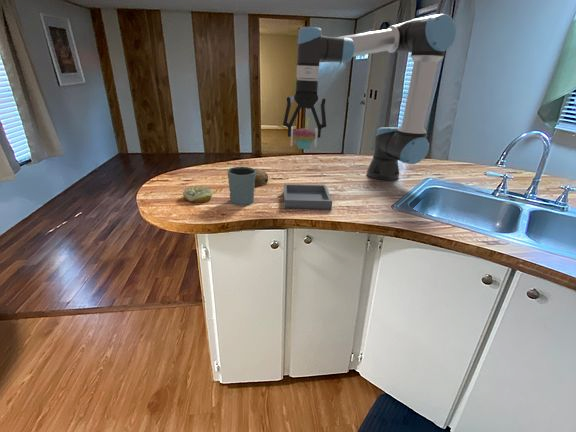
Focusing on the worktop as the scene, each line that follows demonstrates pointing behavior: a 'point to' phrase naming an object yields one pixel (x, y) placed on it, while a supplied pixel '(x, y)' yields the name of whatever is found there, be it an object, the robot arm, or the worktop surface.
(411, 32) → the robot arm
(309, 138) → the cupcake
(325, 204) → the serving tray
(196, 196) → the decorated donut
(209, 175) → the worktop surface
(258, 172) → the bread roll
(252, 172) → the grey cup
